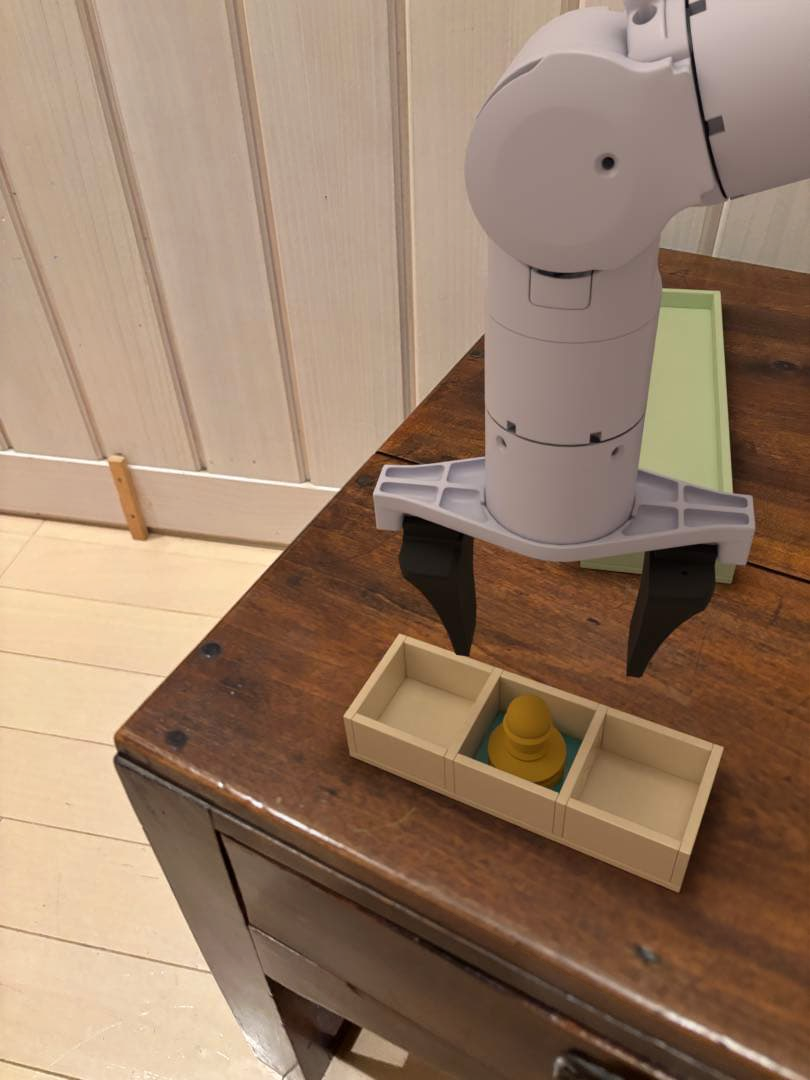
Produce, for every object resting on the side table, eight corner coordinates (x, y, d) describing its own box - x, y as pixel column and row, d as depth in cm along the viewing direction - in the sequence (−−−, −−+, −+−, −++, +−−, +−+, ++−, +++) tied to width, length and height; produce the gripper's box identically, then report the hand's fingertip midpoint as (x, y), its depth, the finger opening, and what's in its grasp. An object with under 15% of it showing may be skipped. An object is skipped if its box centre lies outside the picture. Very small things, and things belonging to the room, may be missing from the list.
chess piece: (581, 768, 47) (588, 708, 43) (522, 811, 45) (525, 752, 42) (529, 719, 49) (532, 658, 46) (471, 757, 48) (471, 698, 44)
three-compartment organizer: (712, 787, 46) (724, 746, 44) (679, 893, 42) (690, 855, 40) (403, 673, 53) (399, 632, 51) (349, 756, 49) (342, 716, 47)
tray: (731, 584, 57) (737, 560, 55) (580, 568, 59) (582, 544, 57) (716, 311, 81) (720, 290, 80) (610, 306, 83) (612, 285, 82)
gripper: (770, 352, 34) (711, 604, 43) (392, 331, 37) (411, 572, 46) (786, 468, 29) (716, 725, 38) (347, 434, 32) (379, 681, 41)
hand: (548, 649), depth 42 cm, fingers open, 7 cm apart
